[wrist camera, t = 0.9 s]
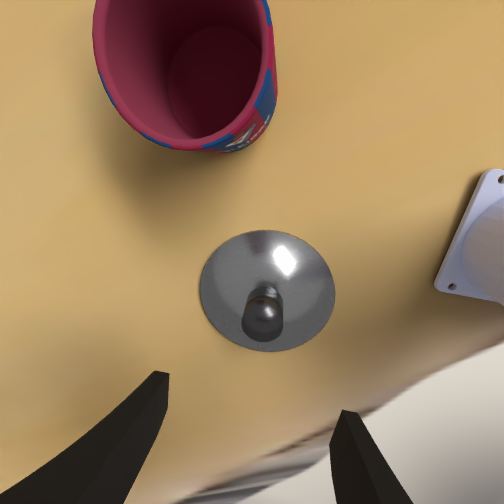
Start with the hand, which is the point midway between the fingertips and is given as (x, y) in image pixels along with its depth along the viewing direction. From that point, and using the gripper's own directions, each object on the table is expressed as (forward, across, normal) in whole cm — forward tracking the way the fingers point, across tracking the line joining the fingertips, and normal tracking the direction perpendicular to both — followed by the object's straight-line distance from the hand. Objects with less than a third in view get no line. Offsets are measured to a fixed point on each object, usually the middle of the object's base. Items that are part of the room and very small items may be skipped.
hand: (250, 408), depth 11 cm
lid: (+10, 0, 0) cm, 10 cm away
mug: (+10, +6, -14) cm, 18 cm away
